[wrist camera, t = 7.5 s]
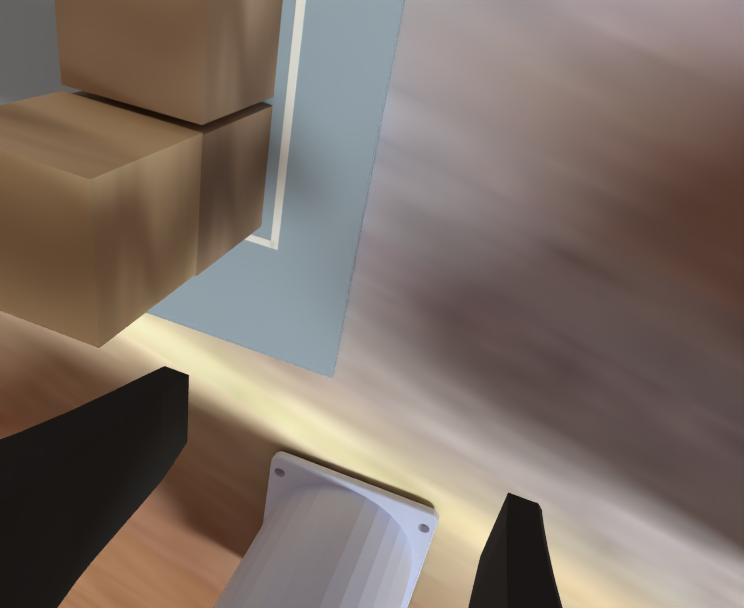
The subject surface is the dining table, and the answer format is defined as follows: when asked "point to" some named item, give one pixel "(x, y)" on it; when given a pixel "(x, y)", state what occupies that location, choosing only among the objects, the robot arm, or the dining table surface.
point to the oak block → (93, 213)
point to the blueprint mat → (272, 174)
